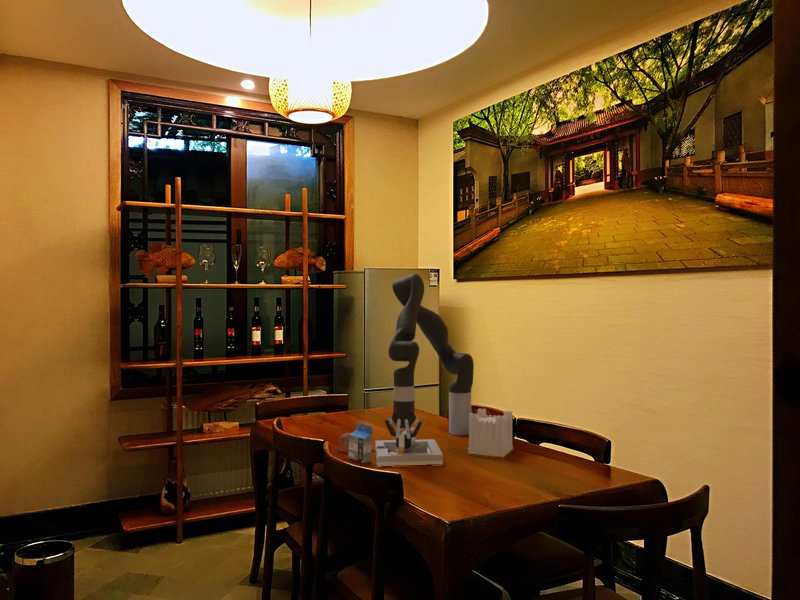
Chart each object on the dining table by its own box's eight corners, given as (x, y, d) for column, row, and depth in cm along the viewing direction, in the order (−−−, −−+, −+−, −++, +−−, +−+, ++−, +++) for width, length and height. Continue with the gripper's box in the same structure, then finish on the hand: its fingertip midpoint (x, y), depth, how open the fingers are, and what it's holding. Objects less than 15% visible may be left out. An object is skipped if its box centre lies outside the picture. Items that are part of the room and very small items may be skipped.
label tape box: (347, 458, 210) (347, 423, 210) (357, 456, 213) (357, 421, 213) (362, 463, 203) (362, 427, 203) (372, 461, 206) (372, 425, 206)
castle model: (503, 458, 209) (503, 417, 209) (462, 453, 216) (462, 414, 216) (512, 449, 221) (512, 411, 221) (473, 445, 227) (473, 408, 227)
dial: (395, 446, 220) (395, 425, 220) (432, 449, 215) (432, 428, 215) (381, 455, 207) (381, 433, 207) (419, 459, 202) (419, 437, 202)
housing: (434, 448, 223) (434, 437, 223) (443, 465, 201) (443, 453, 201) (375, 450, 221) (375, 438, 221) (377, 466, 199) (377, 454, 199)
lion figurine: (369, 446, 226) (368, 422, 226) (375, 449, 222) (375, 425, 222) (333, 452, 219) (333, 427, 219) (339, 455, 214) (339, 430, 214)
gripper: (425, 397, 210) (425, 446, 210) (386, 396, 212) (386, 444, 213) (422, 401, 202) (421, 452, 203) (381, 399, 205) (381, 450, 205)
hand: (403, 448), depth 208 cm, fingers closed on dial, 2 cm apart
